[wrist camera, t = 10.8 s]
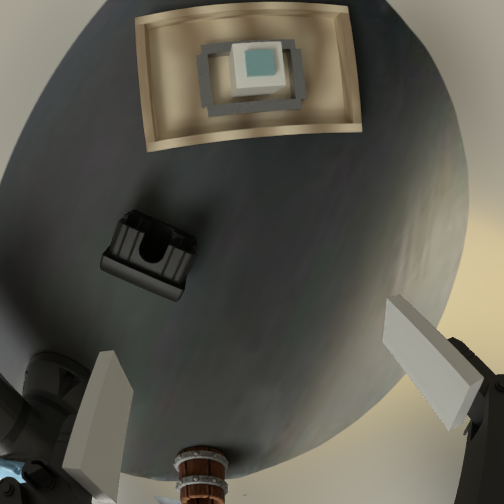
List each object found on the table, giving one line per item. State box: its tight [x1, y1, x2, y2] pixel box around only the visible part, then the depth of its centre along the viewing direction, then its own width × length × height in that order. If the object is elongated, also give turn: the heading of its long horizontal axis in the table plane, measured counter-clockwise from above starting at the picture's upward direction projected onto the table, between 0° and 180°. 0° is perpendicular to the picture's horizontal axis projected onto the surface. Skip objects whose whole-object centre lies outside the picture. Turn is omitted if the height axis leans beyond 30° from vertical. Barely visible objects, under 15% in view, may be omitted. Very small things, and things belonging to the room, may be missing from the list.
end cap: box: [100, 210, 198, 302], centre depth 36 cm, size 10×7×7 cm
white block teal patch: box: [228, 42, 286, 98], centre depth 28 cm, size 4×4×9 cm
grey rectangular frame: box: [196, 39, 306, 118], centre depth 31 cm, size 11×8×2 cm
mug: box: [173, 447, 229, 504], centre depth 52 cm, size 12×14×15 cm
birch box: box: [135, 2, 362, 152], centre depth 31 cm, size 24×16×4 cm, turn 96°
